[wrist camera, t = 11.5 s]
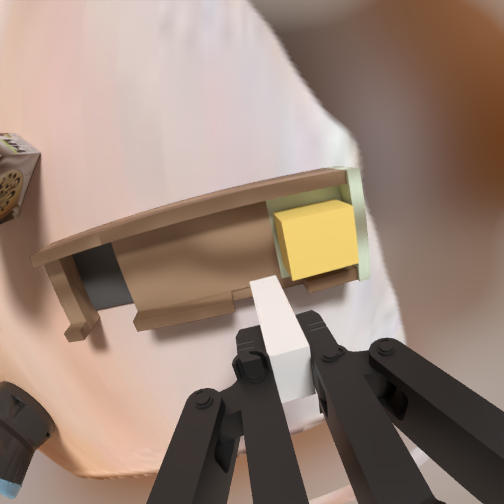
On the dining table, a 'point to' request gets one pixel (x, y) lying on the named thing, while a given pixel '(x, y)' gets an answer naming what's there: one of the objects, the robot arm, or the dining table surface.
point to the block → (317, 238)
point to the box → (195, 253)
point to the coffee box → (14, 173)
